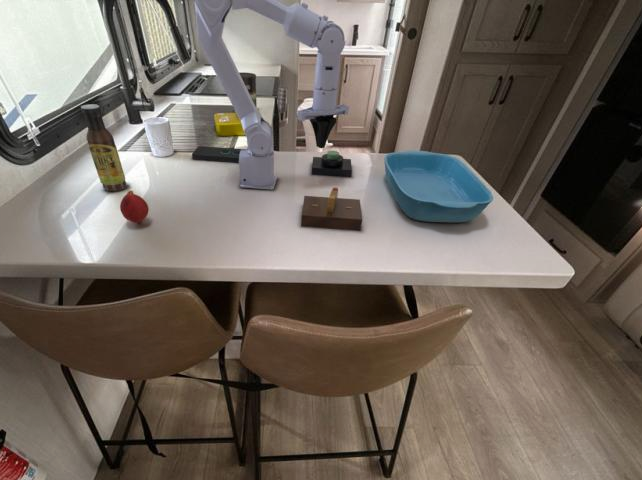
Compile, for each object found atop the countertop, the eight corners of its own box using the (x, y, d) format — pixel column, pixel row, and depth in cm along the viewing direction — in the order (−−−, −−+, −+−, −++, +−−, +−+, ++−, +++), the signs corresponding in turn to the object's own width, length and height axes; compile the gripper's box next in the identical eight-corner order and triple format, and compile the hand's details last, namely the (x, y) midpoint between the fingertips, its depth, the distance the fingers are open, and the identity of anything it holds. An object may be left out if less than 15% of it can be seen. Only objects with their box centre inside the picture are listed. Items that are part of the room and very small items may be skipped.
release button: (326, 160, 100) (327, 154, 99) (326, 156, 103) (327, 150, 101) (338, 161, 100) (339, 155, 99) (338, 156, 102) (339, 151, 101)
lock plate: (300, 226, 79) (301, 214, 76) (303, 206, 86) (304, 194, 84) (360, 230, 78) (362, 218, 76) (357, 210, 85) (359, 198, 83)
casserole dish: (373, 170, 104) (378, 146, 100) (444, 172, 105) (452, 149, 100) (400, 232, 78) (408, 204, 73) (495, 235, 78) (509, 208, 73)
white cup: (180, 152, 111) (174, 119, 104) (162, 159, 106) (154, 125, 100) (164, 147, 114) (157, 115, 107) (145, 154, 109) (137, 121, 102)
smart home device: (252, 158, 104) (191, 154, 106) (252, 164, 106) (191, 159, 107) (257, 149, 110) (199, 145, 112) (257, 154, 112) (199, 150, 113)
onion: (137, 232, 75) (126, 199, 69) (120, 224, 77) (108, 192, 72) (157, 221, 79) (148, 189, 73) (140, 214, 81) (130, 182, 75)
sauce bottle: (100, 192, 88) (68, 109, 75) (108, 182, 93) (79, 102, 79) (124, 192, 89) (97, 109, 75) (131, 182, 93) (106, 102, 80)
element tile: (256, 135, 126) (256, 121, 123) (217, 136, 124) (215, 122, 120) (251, 123, 137) (251, 110, 134) (214, 124, 134) (213, 111, 131)
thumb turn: (332, 212, 78) (334, 197, 75) (326, 211, 78) (328, 196, 75) (336, 202, 82) (338, 187, 79) (331, 201, 82) (332, 186, 79)
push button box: (311, 174, 101) (312, 161, 98) (312, 163, 107) (313, 150, 104) (350, 177, 100) (353, 164, 97) (349, 166, 107) (351, 153, 104)
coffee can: (254, 115, 146) (252, 77, 136) (231, 113, 147) (228, 76, 137) (259, 109, 153) (258, 73, 144) (238, 107, 154) (235, 71, 145)
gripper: (339, 82, 85) (333, 138, 94) (291, 87, 79) (289, 146, 88) (357, 87, 80) (348, 146, 90) (307, 93, 75) (304, 155, 84)
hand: (320, 146), depth 89 cm, fingers closed
